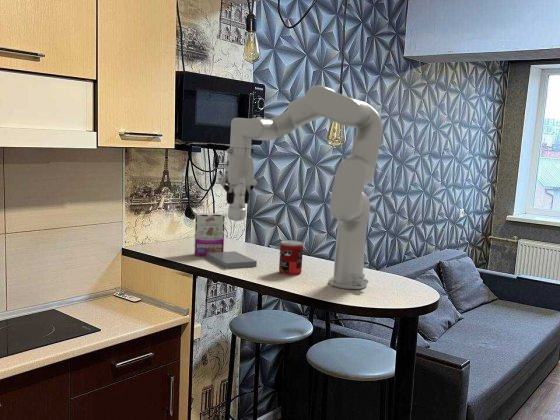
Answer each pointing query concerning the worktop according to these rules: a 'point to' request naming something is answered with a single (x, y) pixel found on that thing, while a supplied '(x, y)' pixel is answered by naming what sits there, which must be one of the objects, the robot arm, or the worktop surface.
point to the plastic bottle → (238, 202)
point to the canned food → (291, 257)
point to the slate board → (231, 259)
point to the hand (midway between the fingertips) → (237, 202)
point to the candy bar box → (209, 233)
